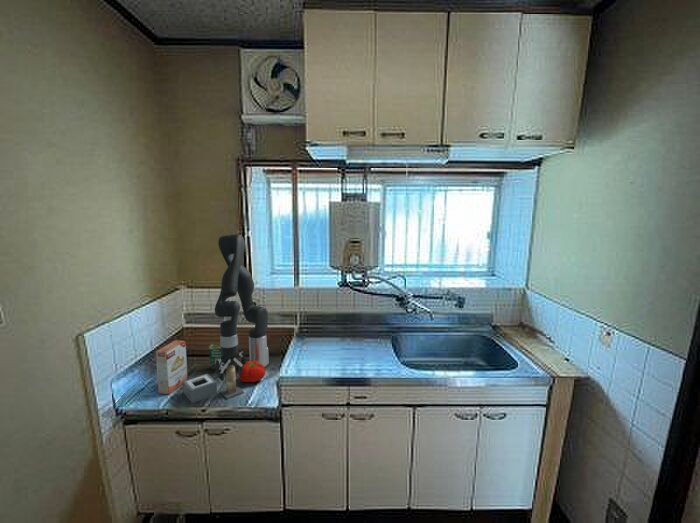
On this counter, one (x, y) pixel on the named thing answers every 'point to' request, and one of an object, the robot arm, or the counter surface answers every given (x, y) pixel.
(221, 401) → the counter surface
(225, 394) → the mat
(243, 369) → the tomato
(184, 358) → the cracker box
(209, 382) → the box
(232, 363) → the robot arm
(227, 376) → the beige ridged cylinder
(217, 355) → the coffee box
